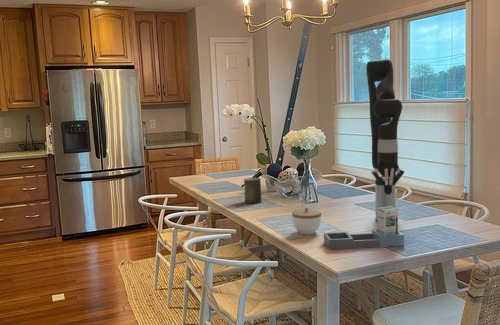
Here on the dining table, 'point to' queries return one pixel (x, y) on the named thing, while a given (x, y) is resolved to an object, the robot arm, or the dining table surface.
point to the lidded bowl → (306, 220)
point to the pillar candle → (252, 190)
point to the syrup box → (387, 220)
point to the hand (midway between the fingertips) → (387, 194)
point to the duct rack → (362, 240)
